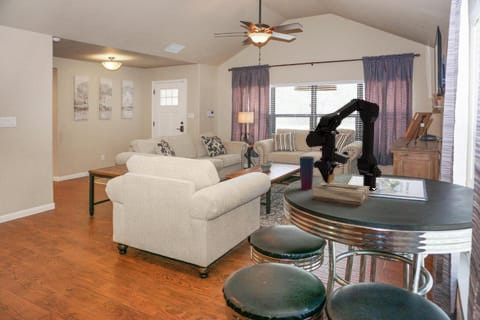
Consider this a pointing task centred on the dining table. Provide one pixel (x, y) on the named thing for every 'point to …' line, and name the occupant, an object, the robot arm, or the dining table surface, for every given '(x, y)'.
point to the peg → (329, 179)
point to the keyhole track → (341, 193)
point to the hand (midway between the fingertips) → (328, 181)
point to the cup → (306, 172)
